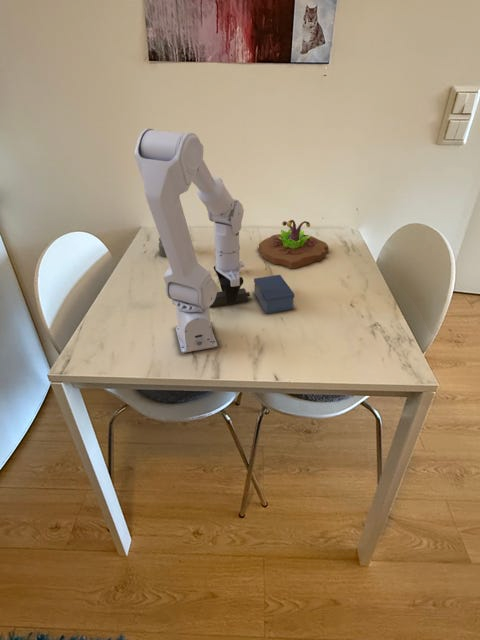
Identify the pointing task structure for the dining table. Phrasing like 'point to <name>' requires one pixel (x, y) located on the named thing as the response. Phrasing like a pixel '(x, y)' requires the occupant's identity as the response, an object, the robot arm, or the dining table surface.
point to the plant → (293, 247)
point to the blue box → (273, 293)
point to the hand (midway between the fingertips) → (228, 296)
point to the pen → (222, 300)
